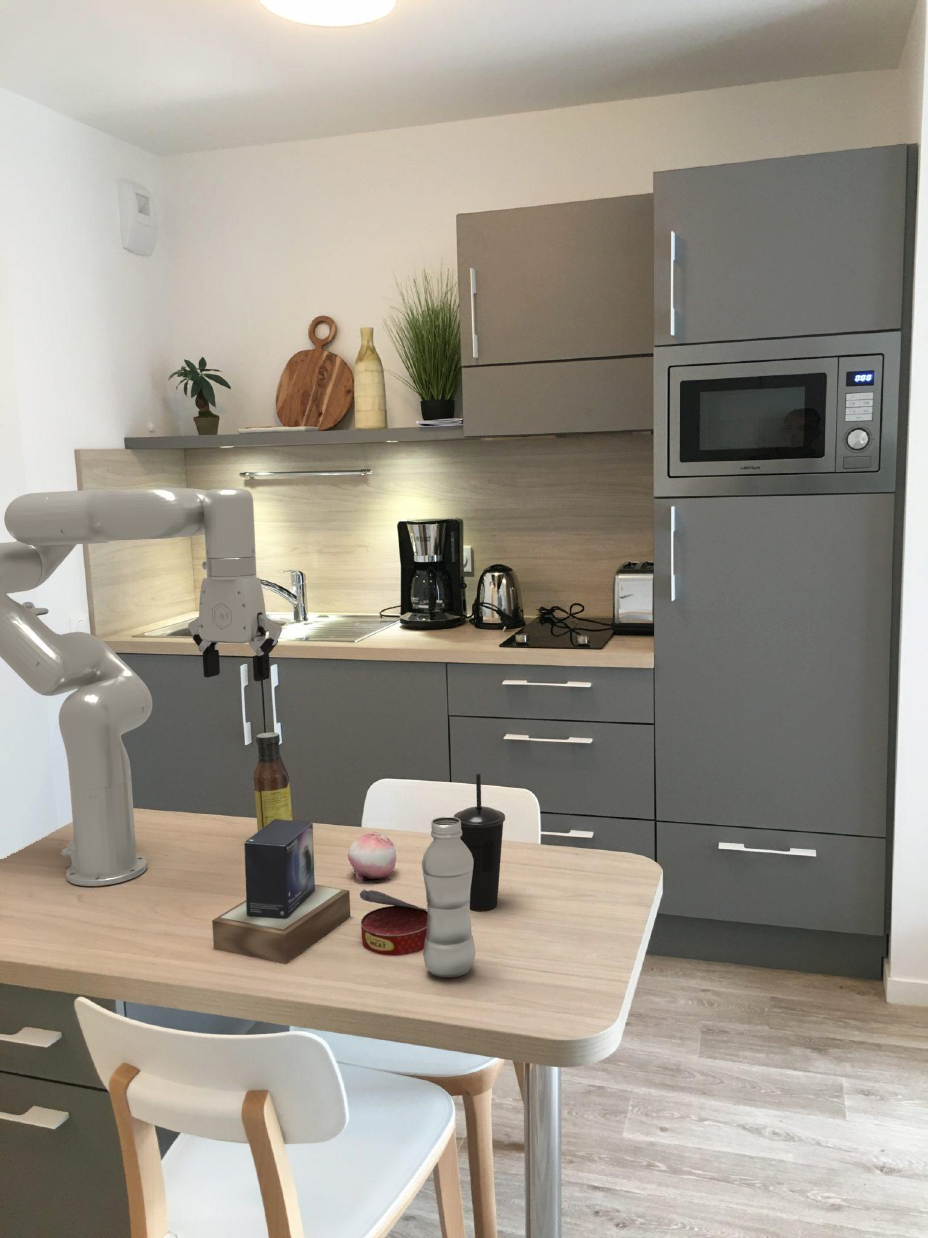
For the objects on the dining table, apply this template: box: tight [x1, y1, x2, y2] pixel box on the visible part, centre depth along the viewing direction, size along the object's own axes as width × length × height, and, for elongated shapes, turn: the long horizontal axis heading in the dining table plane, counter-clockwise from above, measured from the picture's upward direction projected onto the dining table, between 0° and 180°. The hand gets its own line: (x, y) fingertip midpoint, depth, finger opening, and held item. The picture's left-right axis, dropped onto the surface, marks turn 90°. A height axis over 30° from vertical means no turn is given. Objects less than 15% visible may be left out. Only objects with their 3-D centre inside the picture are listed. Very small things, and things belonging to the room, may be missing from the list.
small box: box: [243, 819, 316, 918], centre depth 141 cm, size 11×6×10 cm, turn 167°
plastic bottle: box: [421, 816, 476, 978], centre depth 127 cm, size 6×7×20 cm
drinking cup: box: [453, 773, 506, 912], centre depth 148 cm, size 8×8×20 cm
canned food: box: [359, 889, 427, 957], centre depth 138 cm, size 11×10×10 cm
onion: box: [347, 831, 397, 884], centre depth 161 cm, size 8×8×7 cm
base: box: [211, 884, 352, 964], centre depth 141 cm, size 12×16×4 cm
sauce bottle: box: [253, 731, 294, 832], centre depth 177 cm, size 7×6×20 cm
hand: (236, 677), depth 157 cm, fingers open, 9 cm apart
